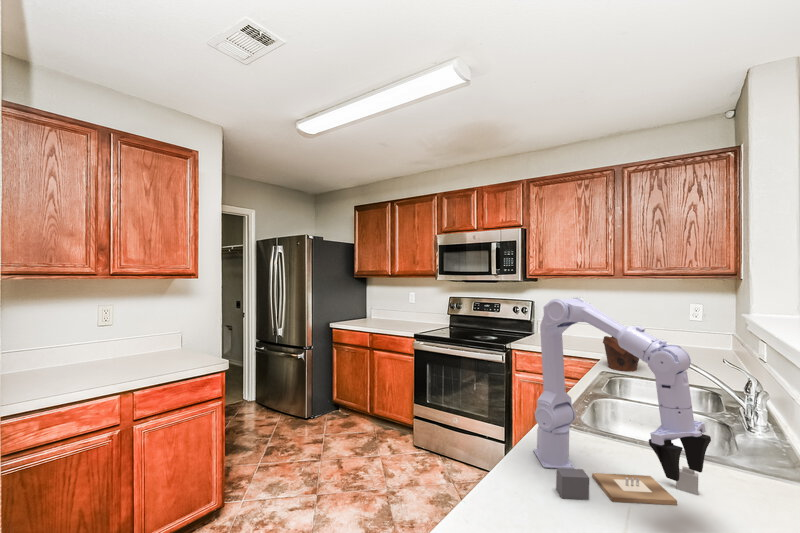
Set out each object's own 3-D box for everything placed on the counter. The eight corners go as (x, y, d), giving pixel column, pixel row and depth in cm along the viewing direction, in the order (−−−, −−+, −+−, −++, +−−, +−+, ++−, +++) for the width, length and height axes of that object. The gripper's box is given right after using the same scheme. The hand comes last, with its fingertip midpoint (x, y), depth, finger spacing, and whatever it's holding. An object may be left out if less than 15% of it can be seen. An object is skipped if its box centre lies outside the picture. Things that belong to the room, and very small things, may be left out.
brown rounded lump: (597, 368, 199) (599, 334, 199) (606, 361, 214) (608, 329, 214) (637, 376, 187) (639, 339, 187) (644, 368, 203) (646, 334, 202)
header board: (592, 476, 96) (592, 465, 96) (650, 479, 96) (650, 468, 96) (612, 501, 86) (612, 489, 86) (677, 505, 86) (677, 492, 86)
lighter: (697, 491, 91) (698, 458, 91) (697, 495, 89) (698, 461, 89) (661, 481, 95) (662, 448, 95) (661, 484, 94) (661, 451, 94)
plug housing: (556, 489, 91) (556, 468, 91) (582, 490, 90) (582, 469, 90) (561, 498, 87) (562, 476, 87) (588, 499, 87) (589, 477, 87)
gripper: (672, 415, 73) (683, 491, 72) (717, 404, 79) (727, 473, 78) (637, 407, 80) (646, 477, 78) (681, 397, 86) (690, 462, 84)
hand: (684, 474), depth 78 cm, fingers open, 7 cm apart
